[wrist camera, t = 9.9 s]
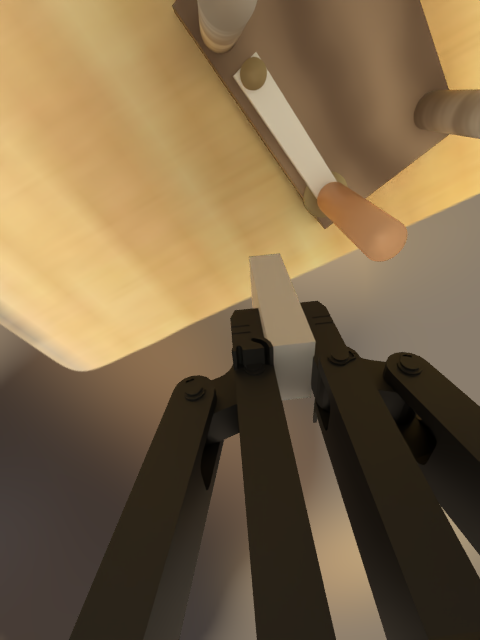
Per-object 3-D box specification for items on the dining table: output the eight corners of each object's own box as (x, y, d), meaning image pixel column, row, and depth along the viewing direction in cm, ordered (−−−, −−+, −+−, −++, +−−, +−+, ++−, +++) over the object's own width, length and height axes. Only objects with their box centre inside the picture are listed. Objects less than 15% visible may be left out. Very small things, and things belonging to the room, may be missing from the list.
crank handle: (257, 49, 20) (293, 18, 12) (348, 196, 26) (413, 242, 18) (229, 80, 21) (244, 71, 13) (323, 215, 27) (375, 269, 18)
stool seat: (335, -186, 17) (486, -511, 8) (444, 123, 25) (573, 139, 17) (171, 16, 20) (145, -44, 12) (315, 223, 29) (363, 280, 20)
